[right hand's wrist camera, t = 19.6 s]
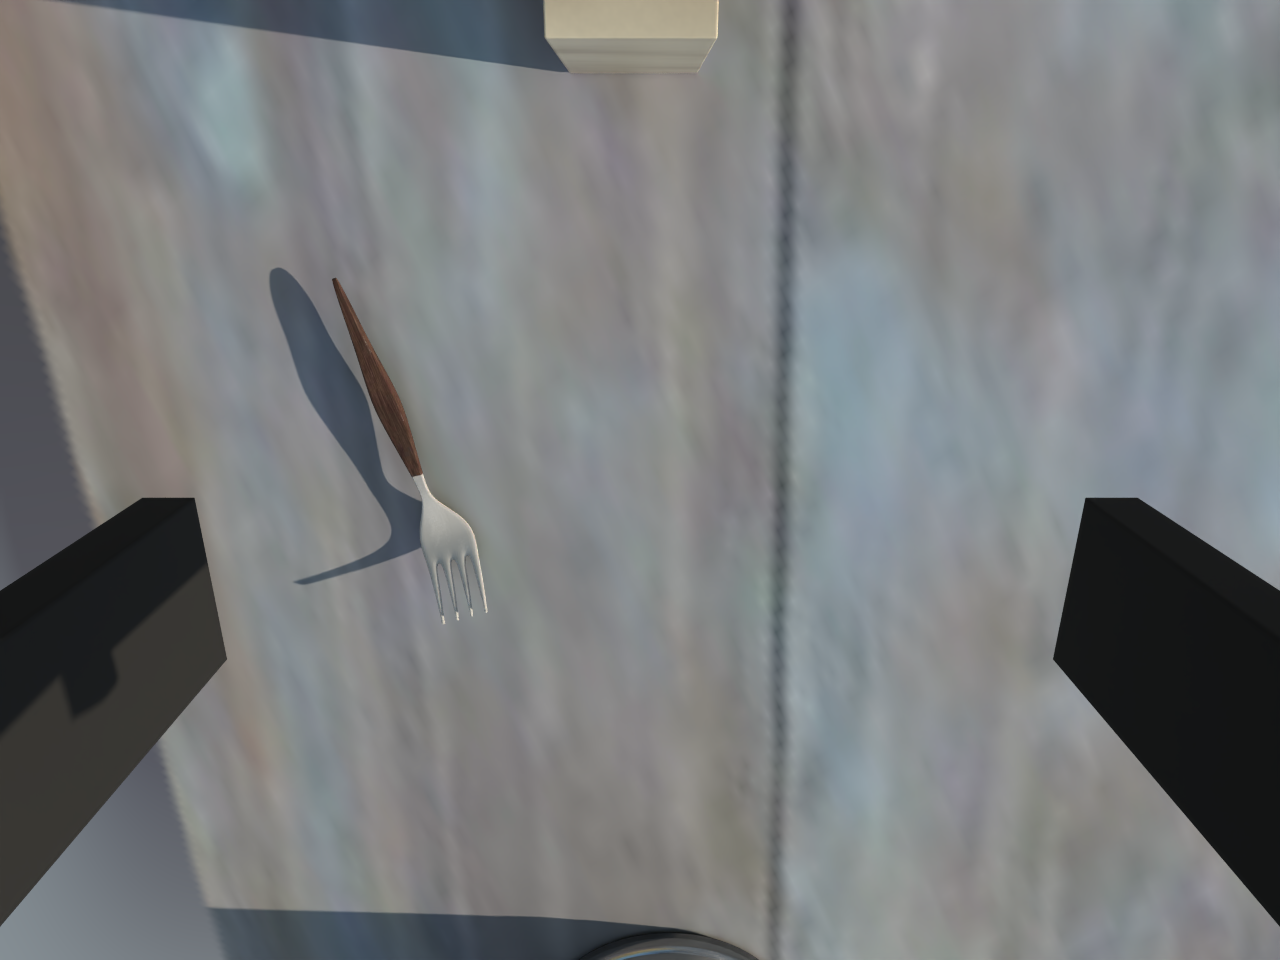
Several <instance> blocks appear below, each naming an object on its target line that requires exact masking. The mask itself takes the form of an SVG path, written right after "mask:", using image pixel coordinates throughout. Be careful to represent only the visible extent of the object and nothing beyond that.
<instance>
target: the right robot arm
mask: <svg viewBox="0 0 1280 960" xmlns="http://www.w3.org/2000/svg"><path fill="white" fill-rule="evenodd" d="M226 660H227V657H226V652H225V647H224V642H223V637H222V632H221V627H220V622H219V617H218V612H217V607H216V602H215V598H214V593H213V588H212V583H211V578H210V573H209V568H208V563H207V558H206V553H205V548H204V543H203V538H202V533H201V528H200V523H199V518H198V513H197V508H196V503H195V498H141V499H140V500H138V501H137V502H135V503H134V504H132V505H131V506H129V507H128V508H126V509H125V510H123V511H122V512H120V513H118V514H117V515H115V516H114V517H112V518H111V519H109V520H108V521H106V522H105V523H103V524H102V525H100V526H99V527H97V528H96V529H94V530H92V531H91V532H89V533H88V534H86V535H85V536H83V537H82V538H80V539H79V540H77V541H76V542H74V543H73V544H71V545H70V546H68V547H66V548H65V549H63V550H62V551H60V552H59V553H57V554H56V555H54V556H53V557H51V558H50V559H48V560H47V561H45V562H44V563H42V564H41V565H39V566H37V567H36V568H34V569H33V570H31V571H30V572H28V573H27V574H25V575H24V576H22V577H21V578H19V579H18V580H16V581H15V582H13V583H12V584H10V585H8V586H7V587H5V588H4V589H2V590H1V591H0V926H1V925H2V924H3V923H4V921H5V920H6V919H7V918H8V917H9V915H10V914H11V913H12V912H13V911H14V910H15V908H16V907H17V906H18V905H19V904H20V902H21V901H22V900H23V899H24V898H25V897H26V895H27V894H28V893H29V892H30V891H31V890H32V888H33V887H34V886H35V885H36V884H37V882H38V881H39V880H40V879H41V878H42V877H43V875H44V874H45V873H46V872H47V871H48V870H49V868H50V867H51V866H52V865H53V864H54V862H55V861H56V860H57V859H58V858H59V857H60V855H61V854H62V853H63V852H64V851H65V849H66V848H67V847H68V846H69V845H70V844H71V842H72V841H73V840H74V839H75V838H76V836H77V835H78V834H79V833H80V832H81V831H82V829H83V828H84V827H85V826H86V825H87V824H88V822H89V821H90V820H91V819H92V818H93V816H94V815H95V814H96V813H97V812H98V811H99V809H100V808H101V807H102V806H103V805H104V804H105V802H106V801H107V800H108V799H109V798H110V796H111V795H112V794H113V793H114V792H115V791H116V789H117V788H118V787H119V786H120V785H121V783H122V782H123V781H124V780H125V779H126V778H127V776H128V775H129V774H130V773H131V772H132V771H133V769H134V768H135V767H136V766H137V765H138V763H139V762H140V761H141V760H142V759H143V757H144V756H145V755H146V754H147V753H148V752H149V750H150V749H151V748H152V747H153V746H154V745H155V743H156V742H157V741H158V740H159V739H160V738H161V736H162V735H163V734H164V733H165V732H166V730H167V729H168V728H169V727H170V726H171V725H172V723H173V722H174V721H175V720H176V719H177V717H178V716H179V715H180V714H181V713H182V712H183V710H184V709H185V708H186V707H187V706H188V705H189V703H190V702H191V701H192V700H193V699H194V697H195V696H196V695H197V694H198V693H199V692H200V690H201V689H202V688H203V687H204V686H205V684H206V683H207V682H208V681H209V680H210V679H211V677H212V676H213V675H214V674H215V673H216V672H217V670H218V669H219V668H220V667H221V666H222V664H223V663H224V662H225V661H226ZM1053 660H1054V661H1055V662H1056V663H1057V664H1058V666H1059V667H1060V668H1061V669H1062V670H1063V672H1064V673H1065V674H1066V675H1067V676H1068V677H1069V679H1070V680H1071V681H1072V682H1073V683H1074V684H1075V686H1076V687H1077V688H1078V689H1079V690H1080V692H1081V693H1082V694H1083V695H1084V696H1085V697H1086V699H1087V700H1088V701H1089V702H1090V703H1091V705H1092V706H1093V707H1094V708H1095V709H1096V710H1097V712H1098V713H1099V714H1100V715H1101V716H1102V717H1103V719H1104V720H1105V721H1106V722H1107V723H1108V725H1109V726H1110V727H1111V728H1112V729H1113V730H1114V732H1115V733H1116V734H1117V735H1118V736H1119V738H1120V739H1121V740H1122V741H1123V742H1124V743H1125V745H1126V746H1127V747H1128V748H1129V749H1130V750H1131V752H1132V753H1133V754H1134V755H1135V756H1136V758H1137V759H1138V760H1139V761H1140V762H1141V763H1142V765H1143V766H1144V767H1145V768H1146V769H1147V771H1148V772H1149V773H1150V774H1151V775H1152V776H1153V778H1154V779H1155V780H1156V781H1157V782H1158V783H1159V785H1160V786H1161V787H1162V788H1163V789H1164V791H1165V792H1166V793H1167V794H1168V795H1169V796H1170V798H1171V799H1172V800H1173V801H1174V802H1175V804H1176V805H1177V806H1178V807H1179V808H1180V809H1181V811H1182V812H1183V813H1184V814H1185V815H1186V816H1187V818H1188V819H1189V820H1190V821H1191V822H1192V824H1193V825H1194V826H1195V827H1196V828H1197V829H1198V831H1199V832H1200V833H1201V834H1202V835H1203V837H1204V838H1205V839H1206V840H1207V841H1208V842H1209V844H1210V845H1211V846H1212V847H1213V848H1214V849H1215V851H1216V852H1217V853H1218V854H1219V855H1220V857H1221V858H1222V859H1223V860H1224V861H1225V862H1226V864H1227V865H1228V866H1229V867H1230V868H1231V870H1232V871H1233V872H1234V873H1235V874H1236V875H1237V877H1238V878H1239V879H1240V880H1241V881H1242V882H1243V884H1244V885H1245V886H1246V887H1247V888H1248V890H1249V891H1250V892H1251V893H1252V894H1253V895H1254V897H1255V898H1256V899H1257V900H1258V901H1259V903H1260V904H1261V905H1262V906H1263V907H1264V908H1265V910H1266V911H1267V912H1268V913H1269V914H1270V915H1271V917H1272V918H1273V919H1274V920H1275V921H1276V923H1277V924H1278V925H1279V926H1280V591H1279V590H1278V589H1276V588H1275V587H1273V586H1272V585H1270V584H1269V583H1267V582H1265V581H1264V580H1262V579H1261V578H1259V577H1258V576H1256V575H1255V574H1253V573H1252V572H1250V571H1249V570H1247V569H1246V568H1244V567H1243V566H1241V565H1239V564H1238V563H1236V562H1235V561H1233V560H1232V559H1230V558H1229V557H1227V556H1226V555H1224V554H1223V553H1221V552H1220V551H1218V550H1217V549H1215V548H1213V547H1212V546H1210V545H1209V544H1207V543H1206V542H1204V541H1203V540H1201V539H1200V538H1198V537H1197V536H1195V535H1194V534H1192V533H1191V532H1189V531H1188V530H1186V529H1184V528H1183V527H1181V526H1180V525H1178V524H1177V523H1175V522H1174V521H1172V520H1171V519H1169V518H1168V517H1166V516H1165V515H1163V514H1162V513H1160V512H1158V511H1157V510H1155V509H1154V508H1152V507H1151V506H1149V505H1148V504H1146V503H1145V502H1143V501H1142V500H1140V499H1139V498H1085V503H1084V508H1083V513H1082V518H1081V523H1080V528H1079V533H1078V538H1077V543H1076V548H1075V553H1074V558H1073V563H1072V568H1071V573H1070V578H1069V583H1068V588H1067V593H1066V598H1065V602H1064V607H1063V612H1062V617H1061V622H1060V627H1059V632H1058V637H1057V642H1056V647H1055V652H1054V657H1053ZM579 960H758V959H757V958H755V957H754V956H752V955H751V954H749V953H747V952H746V951H744V950H742V949H740V948H738V947H736V946H733V945H731V944H728V943H726V942H723V941H720V940H717V939H713V938H709V937H704V936H699V935H693V934H683V933H655V934H646V935H639V936H634V937H629V938H625V939H622V940H618V941H615V942H612V943H610V944H607V945H605V946H602V947H600V948H598V949H596V950H594V951H592V952H590V953H589V954H587V955H585V956H584V957H582V958H581V959H579Z"/></svg>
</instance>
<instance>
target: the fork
mask: <svg viewBox="0 0 1280 960" xmlns="http://www.w3.org/2000/svg"><path fill="white" fill-rule="evenodd" d="M332 281H333V285H334V288H335V292H336V295H337V298H338V301H339V304H340V307H341V310H342V313H343V316H344V319H345V322H346V325H347V328H348V331H349V334H350V337H351V340H352V343H353V346H354V349H355V352H356V355H357V358H358V361H359V364H360V368H361V371H362V374H363V377H364V380H365V383H366V386H367V389H368V392H369V395H370V398H371V401H372V403H373V406H374V408H375V410H376V412H377V414H378V417H379V419H380V421H381V422H382V424H383V426H384V428H385V430H386V432H387V434H388V435H389V437H390V439H391V441H392V443H393V444H394V446H395V448H396V450H397V451H398V453H399V455H400V457H401V458H402V460H403V462H404V464H405V465H406V467H407V469H408V471H409V473H410V474H411V476H412V478H413V480H414V482H415V484H416V485H417V488H418V490H419V492H420V495H421V498H422V514H421V521H420V542H421V547H422V551H423V554H424V557H425V560H426V563H427V566H428V569H429V572H430V576H431V579H432V583H433V587H434V591H435V595H436V599H437V603H438V607H439V611H440V615H441V620H442V624H445V621H444V614H443V607H442V599H441V592H440V586H439V579H438V573H437V565H438V564H439V563H440V564H441V565H442V567H443V569H444V572H445V575H446V579H447V583H448V587H449V591H450V595H451V598H452V602H453V606H454V610H455V615H456V619H457V620H459V617H458V609H457V602H456V595H455V588H454V581H453V575H452V569H451V561H452V560H455V561H456V563H457V565H458V568H459V571H460V575H461V579H462V583H463V586H464V590H465V594H466V598H467V602H468V606H469V610H470V614H471V616H473V612H472V604H471V597H470V590H469V583H468V577H467V571H466V564H465V558H466V556H469V557H470V559H471V561H472V564H473V567H474V571H475V574H476V578H477V582H478V586H479V589H480V593H481V597H482V601H483V605H484V610H485V613H487V612H488V611H487V605H486V599H485V591H484V585H483V578H482V572H481V567H480V561H479V556H478V550H477V544H476V540H475V536H474V533H473V531H472V529H471V527H470V526H469V524H468V523H467V522H466V521H465V520H464V519H463V518H462V517H461V516H460V515H458V514H457V513H456V512H454V511H453V510H451V509H450V508H448V507H447V506H445V505H443V504H442V503H441V502H439V501H438V500H437V499H436V498H434V497H433V495H432V494H431V493H430V491H429V489H428V487H427V485H426V482H425V479H424V476H423V472H422V469H421V466H420V462H419V458H418V455H417V451H416V448H415V444H414V441H413V437H412V434H411V431H410V427H409V424H408V421H407V417H406V414H405V411H404V409H403V406H402V403H401V401H400V399H399V396H398V394H397V392H396V390H395V388H394V386H393V384H392V382H391V380H390V378H389V377H388V375H387V373H386V371H385V369H384V367H383V366H382V364H381V362H380V360H379V358H378V356H377V355H376V353H375V351H374V349H373V347H372V345H371V343H370V341H369V340H368V338H367V336H366V334H365V332H364V330H363V328H362V326H361V324H360V322H359V320H358V318H357V316H356V314H355V312H354V310H353V308H352V306H351V304H350V302H349V300H348V298H347V296H346V294H345V292H344V290H343V289H342V287H341V285H340V283H339V281H338V280H337V278H334V279H332Z"/></svg>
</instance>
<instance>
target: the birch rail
mask: <svg viewBox="0 0 1280 960" xmlns="http://www.w3.org/2000/svg"><path fill="white" fill-rule="evenodd" d="M543 11H544V37H545V39H546V40H547V42H548V43H549V44H550V46H551V47H552V49H553V50H554V51H555V53H556V54H557V56H558V57H559V59H560V60H561V61H562V63H563V64H564V66H565V67H566V68H567V70H568V71H569V73H697V72H698V71H699V69H700V67H701V65H702V64H703V62H704V60H705V58H706V56H707V55H708V53H709V51H710V49H711V48H712V46H713V44H714V42H715V41H716V39H717V34H718V0H543Z"/></svg>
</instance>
